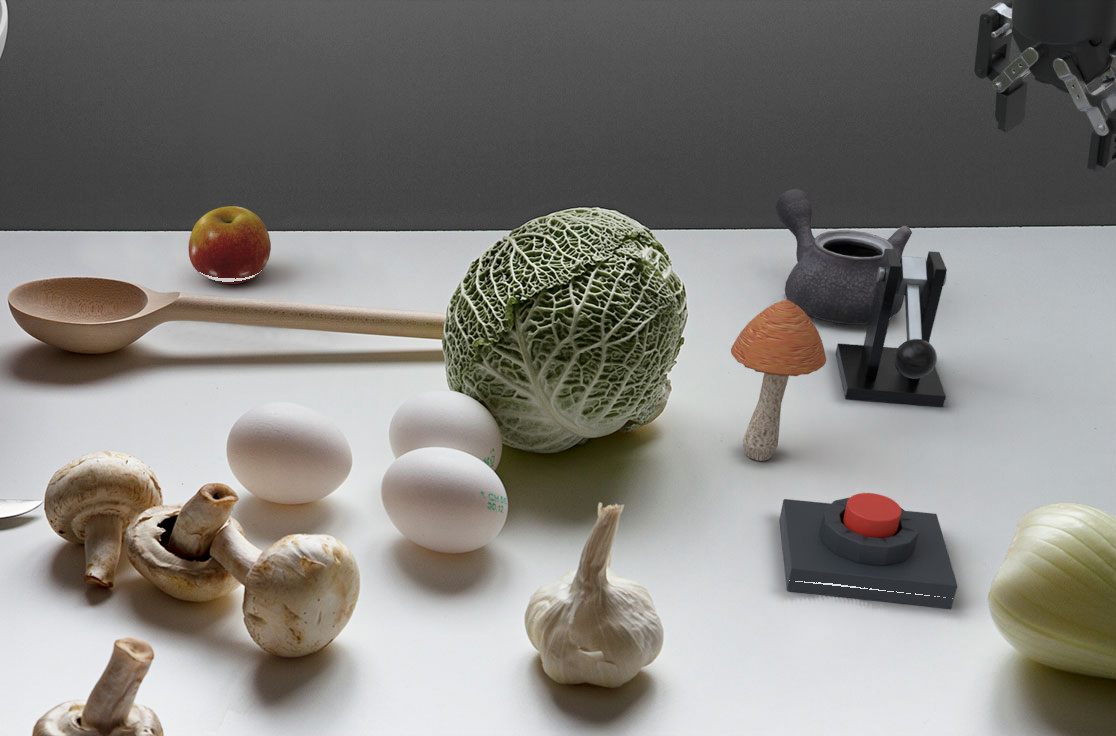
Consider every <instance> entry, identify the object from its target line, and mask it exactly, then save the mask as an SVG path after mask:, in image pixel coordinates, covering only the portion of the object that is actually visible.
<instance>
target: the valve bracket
mask: <svg viewBox="0 0 1116 736" xmlns="http://www.w3.org/2000/svg"><path fill="white" fill-rule="evenodd" d="M926 268H927V282H926V284H925V287H924V289H923V292H922V294H921V296H920V312H921V331H922V340H925V341H927V342H928V343H930V340H931V336H932V332H933V329H934V325H935V320H936V316H937V311H938V307H939V303H940V301H941V296H942V291H943V288H944V286H945V285H946V281H947V271H948V269H947V266H946V264H945V262H944V259H943V257H942V255H941V252H940V251H931V250H929V251H928V253H927V257H926ZM900 272H901V264H900V261H899V258H898V255H897V253H896V250H895V249H885V250H884V254H883V259H882V263H881V267H879V268H878V271H877V286H876V291H875V295H874V300H873V304H872V309H871V314H870V318H869V323H867V327H866V332H865V336H864V342H863V344H851V343H850V344H849V343H839V342H838V343H837V345H836V349H835V357H836V362H837V367H838V371H839V376H840V381H841V385H842V390H843V394H844V399H845V400H855V401H865V402H877V403H879V402H880V403H888V404H903V405H913V406H915V405H917V406H924V407H925V406H926V407H939V408H943V407H944V405H945V401H946V397H947V396H946V392H945V390H944V387H943V383H942V381H941V378H940V376H939V372H938V369H937V367H936V366H935V367H934V369H933V370H932V371H931V372H930V373H929V374H928V375H926V376H924V377H922V378H917V379H912V378H908V377H905V376H903V375H902V374H900V373H899V371H898V370H897V369H896V367H895V364H894V356H895V352H896V350H897V349H898V347H889V346H885V342H886V337H887V333H888V328H889V324H890V319H891V318H890V316H891V311H892V307H893V302H894V298H895V294H896V289H897V285H898V280H899V276H900Z"/></svg>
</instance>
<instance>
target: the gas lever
mask: <svg viewBox="0 0 1116 736" xmlns="http://www.w3.org/2000/svg"><path fill="white" fill-rule="evenodd" d="M926 261H927V257H916V256H903V255H902V257H901V260H900V264H901V272H900V276H899V280H898V285H897V289H896V292H897V295H904V309H905V329H906V333H905V334H906V340H905V341H904V342H903V343H901V344H900V345H899V346H898V347H897V348H898V349H897V350H896V352H895V356H894V364H895V367H896V369H897V370H898V371H899V373H900V374H902V375H903V376H905V377H908V378H912V379H917V378H922V377H924V376H926V375H928V374H929V373H930V372H931V371H932V370H933V369H934V367H936V365H937V362H938V355H937V351H936V349H935V347H934V346H933V345H932V344H931V343H930V342H929V343H928V342H927V341H925V340H922V331H921V312H920V296H921V294H922V292H923V289H924V287H925V284H926V282H927V268H926Z"/></svg>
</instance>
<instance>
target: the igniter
mask: <svg viewBox="0 0 1116 736" xmlns="http://www.w3.org/2000/svg"><path fill="white" fill-rule="evenodd" d="M848 498H849V497H848ZM900 507H901V506H900V505H899V503H898V502H896V501H895V500H894V499H892V498H890V497H888V496H886V495H883V494H879V493H873V492H860V493H856V494H853V495H852V496H850V498H849V499H848V501H847V505H846V510H845V514H844V519H843V522H844V525H845V526H846V527H847V528H848V529H849V530H850V531H853V532H855V533H858V534H861V535H863V536H866V537H874V538H887V537H891V536H893V535H894V534H895V533H896V532H897V529H898V525H899V521H900V517H901V513H902V511H901V508H902V507H901V508H900Z"/></svg>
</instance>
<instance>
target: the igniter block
mask: <svg viewBox="0 0 1116 736" xmlns="http://www.w3.org/2000/svg"><path fill="white" fill-rule="evenodd" d="M850 497H851V496H850ZM850 497H844V498H841V499H836V500H833V501H832V502H831V503H830V502H821V501H811V500H798V499H790V498H789V499H788V498H784V499H783V500H782V505H781V510H780V515H779V521H778V522H779V529H780V539H781V548H782V549H781V550H782V557H783V567H784V575H785V576H784V577H785V587H786V591H787V592H793V593H802V594H803V593H804V594H813V595H821V596H831V597H839V598H840V597H841V598H850V599H858V600H867V601H876V602H886V603H895V604H905V605H914V606H922V607H932V608H941V609H942V608H943V609H949V610H950V609H952V607H953V603H954V599H955V596H956V593H957V589H958V583H957V579H956V575H955V572H954V569H953V566H952V562H951V558H950V555H949V552H948V548H947V545H946V541H945V538H944V535H943V532H942V528H941V524H940V521H939V517H938V515H937V513H934V512H923V511H914V510H906V509H904V508H902V507H901V506H900V508H901V511H902V513H901V517H900V521H899V525H898V529H897V532H896V533H895V534H894V535H893V536H891V537H887V538H874V537H866V536H863V535H861V534H858V533H855V532H853V531H850V530H849V529H848V528H847V527H846V526H845V525H844V522H843V519H844V514H845V510H846V505H847V501H848V499H849V498H850ZM789 580H790V581H789ZM795 581H803V582H795ZM804 581H805V582H815V583H816V582H817V583H818V582H821V583H833V584H841V585H848V586H856V587H861V588H864V587H865V588H868V589H860V588H850V587H841V586H832V585H823V584H813V583H804ZM870 588H872V589H879V590H886V591H878V590H869V589H870ZM887 591H894V592H887ZM896 591H897V592H904V593H897V592H896ZM906 593H911V594H906ZM915 593H916V594H923V595H915ZM924 595H930V596H924ZM934 596H936V597H934ZM937 596H940V597H937ZM943 597H946V598H943ZM952 598H954V599H952Z"/></svg>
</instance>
